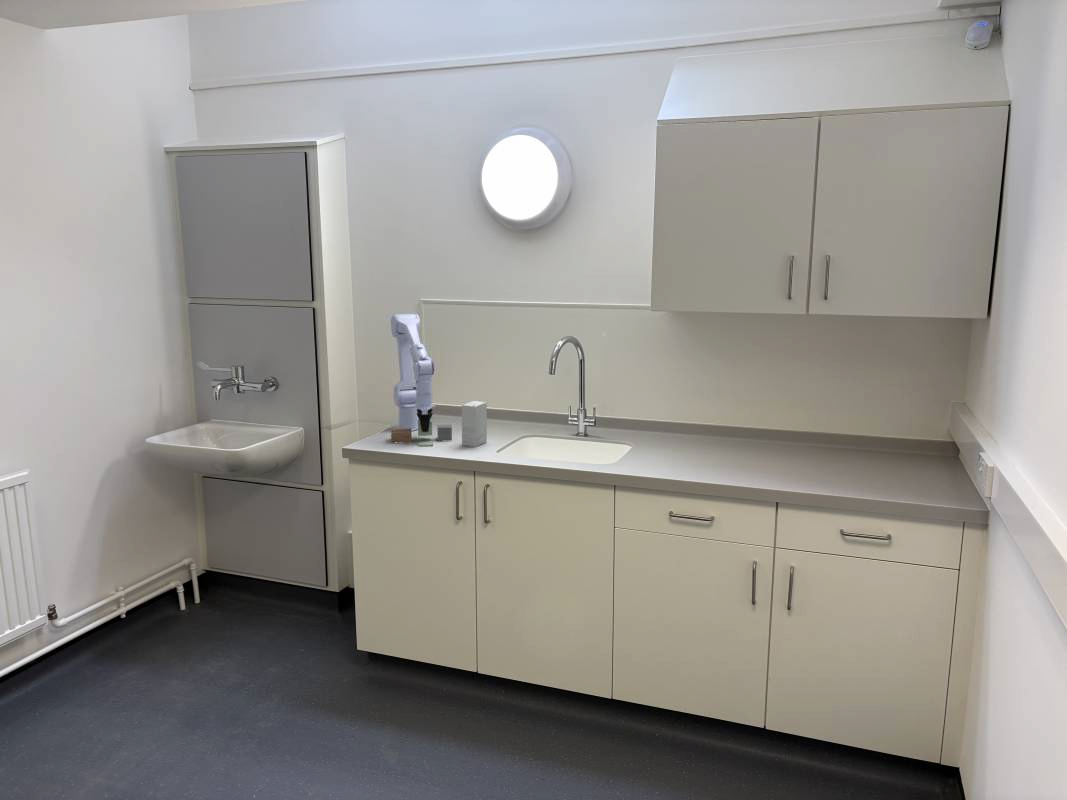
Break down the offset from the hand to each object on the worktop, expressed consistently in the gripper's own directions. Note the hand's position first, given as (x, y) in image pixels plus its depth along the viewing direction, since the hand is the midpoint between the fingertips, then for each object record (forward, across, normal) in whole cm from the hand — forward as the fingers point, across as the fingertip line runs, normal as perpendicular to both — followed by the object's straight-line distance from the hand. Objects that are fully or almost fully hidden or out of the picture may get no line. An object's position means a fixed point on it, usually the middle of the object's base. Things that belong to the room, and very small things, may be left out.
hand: (425, 430), depth 282 cm
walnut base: (+4, 0, +8) cm, 9 cm away
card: (+4, -8, 0) cm, 8 cm away
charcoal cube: (+4, 0, -7) cm, 8 cm away
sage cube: (+2, 0, 0) cm, 2 cm away
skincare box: (+4, -9, -17) cm, 20 cm away
